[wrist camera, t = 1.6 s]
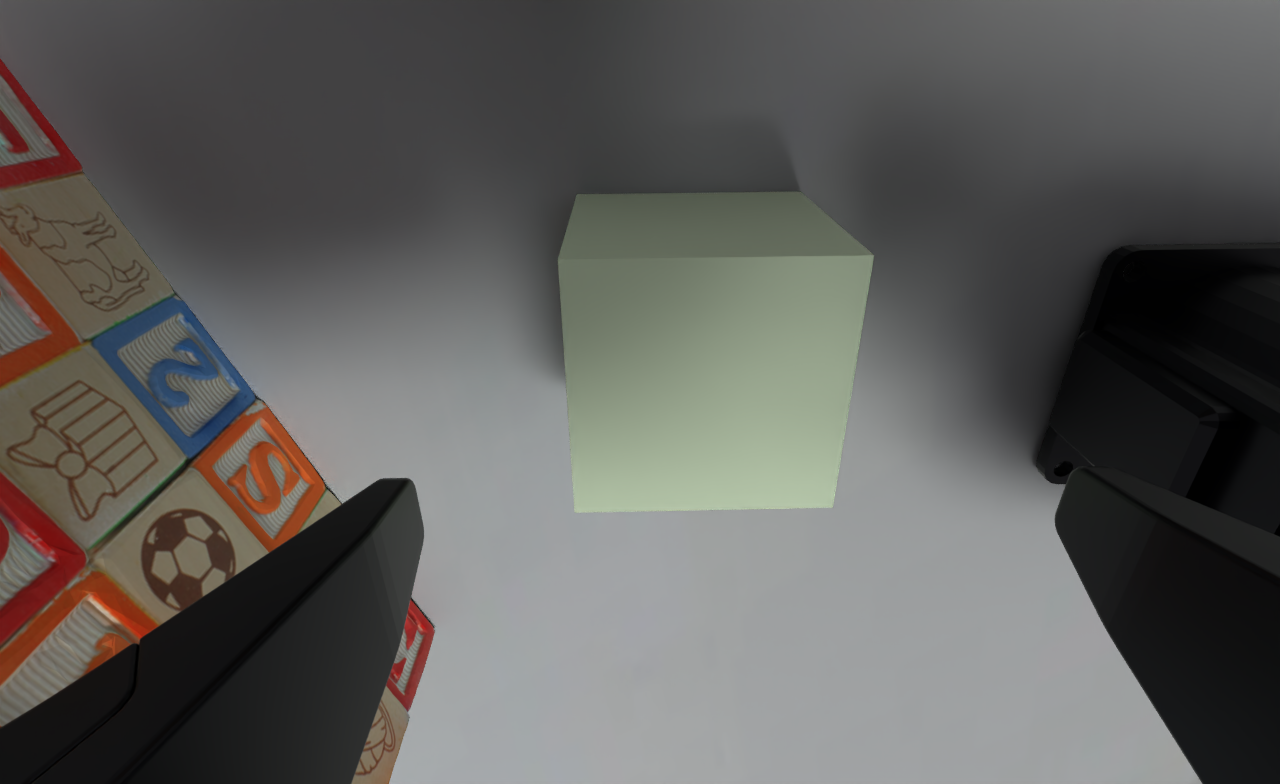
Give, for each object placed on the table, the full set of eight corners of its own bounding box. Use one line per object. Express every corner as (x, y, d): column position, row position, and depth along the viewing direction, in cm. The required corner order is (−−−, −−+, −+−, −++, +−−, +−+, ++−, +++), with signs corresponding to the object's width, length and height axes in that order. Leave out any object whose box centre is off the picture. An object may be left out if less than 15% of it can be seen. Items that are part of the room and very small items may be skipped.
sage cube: (799, 190, 15) (873, 255, 10) (778, 387, 17) (832, 507, 13) (576, 193, 15) (557, 259, 10) (587, 390, 17) (574, 512, 13)
